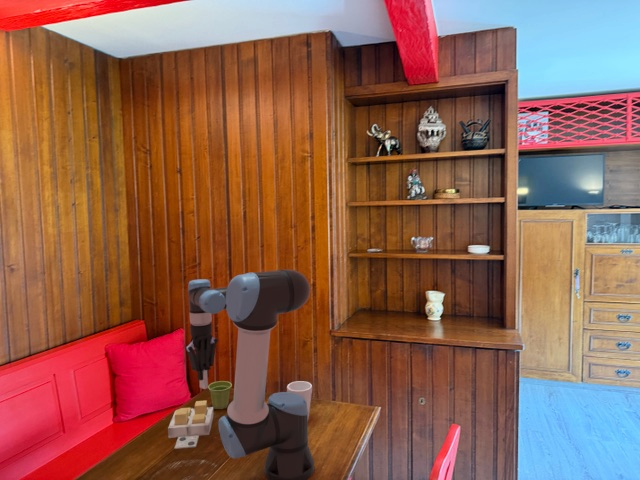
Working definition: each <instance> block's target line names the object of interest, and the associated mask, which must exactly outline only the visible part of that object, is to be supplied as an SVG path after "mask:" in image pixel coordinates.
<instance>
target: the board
mask: <svg viewBox="0 0 640 480" xmlns="http://www.w3.org/2000/svg"><path fill="white" fill-rule="evenodd" d="M176 410H177V409H176ZM176 410H175V411H174V413H173V416H172V418H171V419H170V422H169V425H168V427H167V433H168V434H167V436H168V437H167V438H168V439H174V438H178V437H184V436H196V435H199V437H201V436H209V435H210V433H211V429H212V424H213V420H214V408H213V406H209V407H208V406H207V414H206V415H205V423H199V424H192V419H193V416H194V415H195V407H194V408H193V407H192V408H191V415H190V416H188V422H187V424H186V425H175V413H176ZM178 410H180V408H179V409H178Z"/></svg>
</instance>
